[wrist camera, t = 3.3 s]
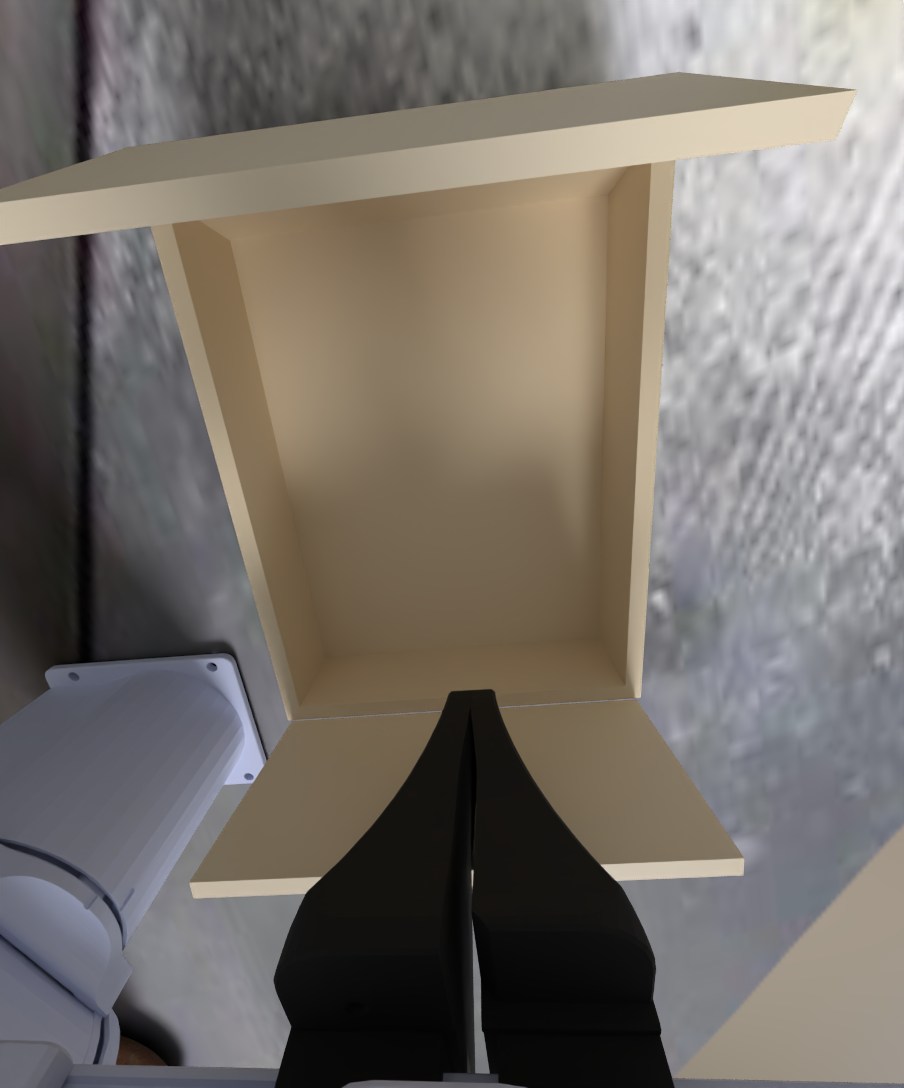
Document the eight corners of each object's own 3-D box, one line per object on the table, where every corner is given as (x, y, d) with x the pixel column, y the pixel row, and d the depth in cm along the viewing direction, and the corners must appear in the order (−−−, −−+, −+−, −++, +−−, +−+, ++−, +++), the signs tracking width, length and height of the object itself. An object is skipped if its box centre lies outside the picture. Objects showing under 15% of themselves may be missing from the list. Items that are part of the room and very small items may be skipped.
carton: (319, 661, 21) (288, 720, 17) (217, 228, 15) (135, 173, 11) (607, 640, 20) (640, 697, 16) (621, 178, 14) (678, 101, 10)
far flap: (291, 721, 17) (294, 732, 17) (189, 882, 11) (193, 898, 11) (636, 699, 16) (636, 711, 16) (744, 858, 10) (743, 875, 10)
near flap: (-37, 249, 7) (-69, 211, 6) (141, 172, 11) (128, 147, 11) (835, 139, 6) (857, 89, 6) (672, 102, 10) (678, 72, 10)
